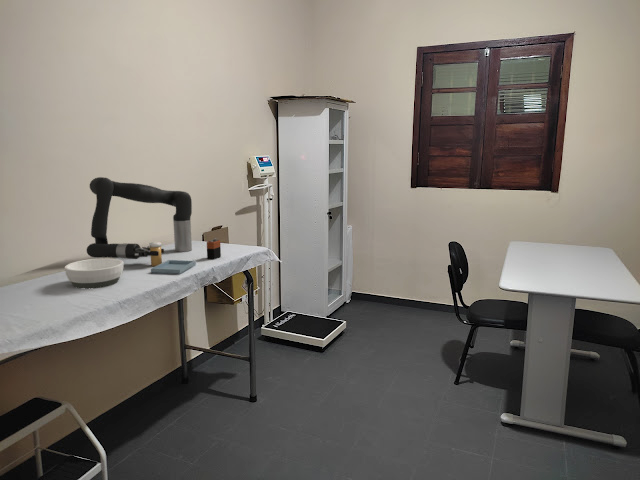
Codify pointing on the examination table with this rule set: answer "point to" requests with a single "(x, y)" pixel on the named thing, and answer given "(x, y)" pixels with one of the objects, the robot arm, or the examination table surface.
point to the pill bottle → (156, 259)
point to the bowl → (94, 272)
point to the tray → (173, 267)
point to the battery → (213, 249)
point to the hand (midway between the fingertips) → (160, 252)
